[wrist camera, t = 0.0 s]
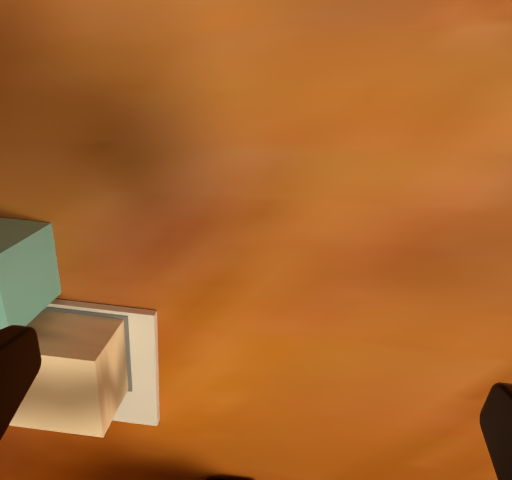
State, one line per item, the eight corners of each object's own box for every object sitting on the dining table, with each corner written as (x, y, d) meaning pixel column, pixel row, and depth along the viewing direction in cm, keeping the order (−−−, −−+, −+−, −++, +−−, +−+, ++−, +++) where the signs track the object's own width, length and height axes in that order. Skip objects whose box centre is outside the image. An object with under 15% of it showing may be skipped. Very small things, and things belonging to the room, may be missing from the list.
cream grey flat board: (159, 419, 29) (156, 427, 28) (-41, 394, 29) (-48, 401, 29) (156, 310, 25) (153, 316, 24) (-75, 283, 25) (-84, 289, 25)
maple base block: (128, 388, 27) (103, 437, 23) (47, 378, 27) (9, 425, 23) (123, 319, 24) (94, 361, 21) (34, 309, 25) (-10, 348, 21)
